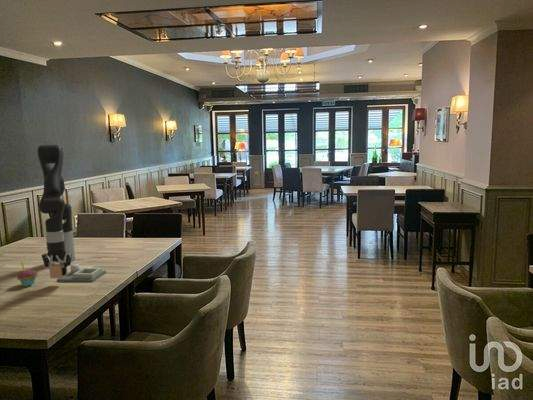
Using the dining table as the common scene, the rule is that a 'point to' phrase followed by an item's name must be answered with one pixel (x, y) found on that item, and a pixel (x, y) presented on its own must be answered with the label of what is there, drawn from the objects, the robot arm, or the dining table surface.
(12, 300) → the dining table surface
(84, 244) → the dining table surface
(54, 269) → the block
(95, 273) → the base board
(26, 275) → the cupcake
